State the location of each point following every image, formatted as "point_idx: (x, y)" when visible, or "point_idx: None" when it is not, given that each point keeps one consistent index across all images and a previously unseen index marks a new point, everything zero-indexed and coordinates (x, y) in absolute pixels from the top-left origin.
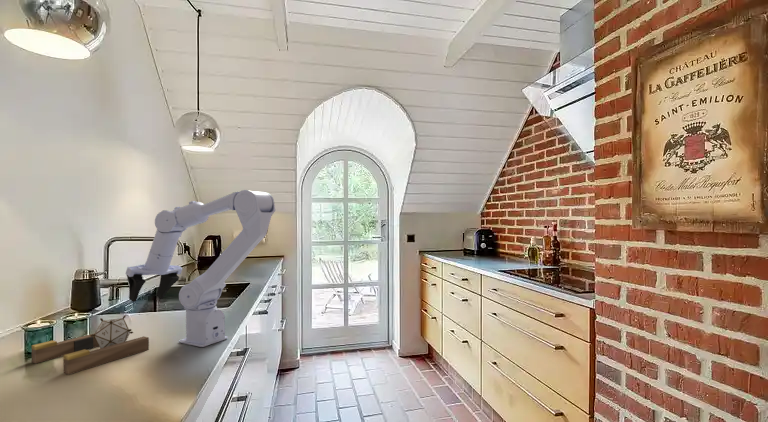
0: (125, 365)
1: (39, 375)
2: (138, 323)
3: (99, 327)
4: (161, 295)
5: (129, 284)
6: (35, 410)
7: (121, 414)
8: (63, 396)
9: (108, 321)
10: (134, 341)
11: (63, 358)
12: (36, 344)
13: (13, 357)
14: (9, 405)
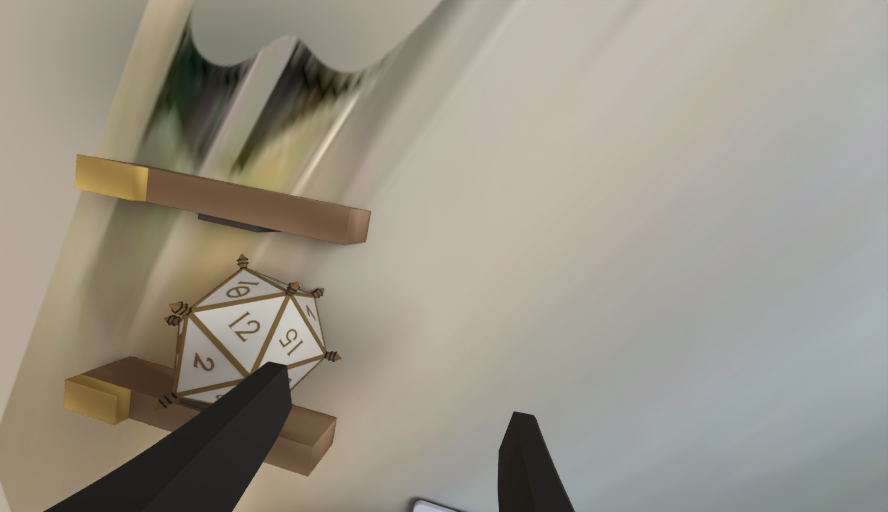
0: None
1: (102, 306)
2: (634, 64)
3: (181, 326)
4: (499, 482)
5: (106, 487)
6: (16, 486)
7: None
8: (63, 484)
9: (186, 357)
10: None
11: (78, 375)
12: (88, 160)
13: (148, 46)
14: (7, 413)
